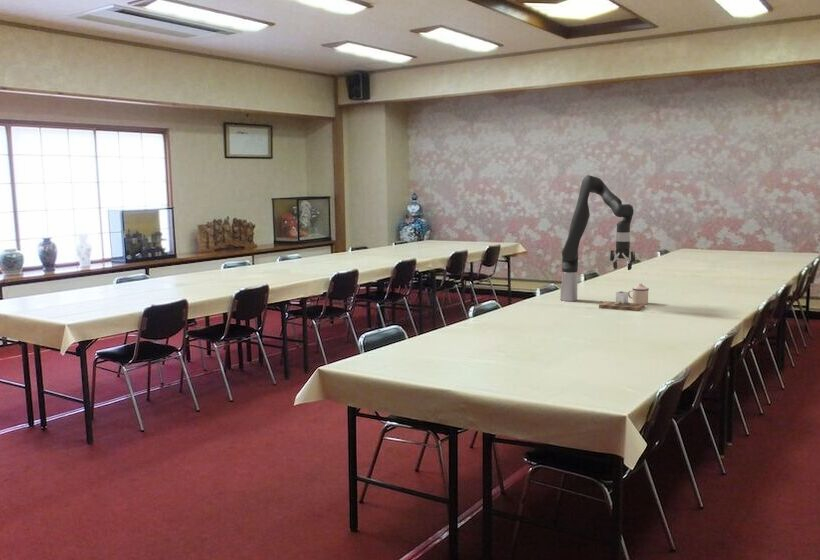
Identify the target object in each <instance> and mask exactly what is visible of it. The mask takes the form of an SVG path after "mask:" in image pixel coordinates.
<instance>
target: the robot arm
mask: <svg viewBox="0 0 820 560" xmlns="http://www.w3.org/2000/svg"><path fill="white" fill-rule="evenodd" d="M579 188H580V189H579V193H578V199H577V201H576V206H575V208H574V212H573V215H572V218H571V222H570V225H569V230H568V235H567V239H566V241H565V244H564V246H563V248H562V250H561V256H562V259H561V260H562V263H561V284H560V298H559V299H560V301H564V302H576V301H578V286H579V285H578V284H579V283H578V281H579V280H578V274H579V273H578V272H579V271H578V270H579V269H578V268H579V245H580V243H581V239H582V237H583V234H584V233H585V230H586V229H587V228H586V227H587V226H588V223H589V220H590V219H589V218H590V216H591V213H590V207H589V196H590V193H593V194H597V195H599V196H600V197H601V198H602V201H603V203H604V204H606V205H607V207H609V208H610V209H611V211H612V214H613V215H614V216H615V217H617V218H622V220H621V221H618V222H617V224H616V234H615V249H613V250H610V253H609V255H610V257H609V261H610V262H613V263H612V264H613V265H612V267H613V269H614V270H616V269H618V260H619V259H622V260H626V262H627V270H628V271H631V270H632V267H633V266H632V265H633V263H635V262H636V251H630V249H631V233H630V232H631V223H632V219H633V216H634V207H633V205H632V204H630V203H629V204H628V203H627V204H626V203H624V204H623V201H622V200H621V199H620V198H619V197H618V196H617V195H616V194H615V193H613V192H612V191H611V190H610V189H609V188H608V187H607V185H606V184H605V182H604V181H603V179H601V178H599V177H598V176H593V175H590V174H589V175H586V176H584V177H583V179H582V180H581V184H580V187H579Z"/></svg>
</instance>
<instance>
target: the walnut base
mask: <svg viewBox="0 0 820 560" xmlns="http://www.w3.org/2000/svg"><path fill="white" fill-rule="evenodd" d="M645 306H646V304H639V303H632V302H629V301H628V303H624V304H623V303H619V304H618V303H616V301H603V302H602V303H600V304H598V309H605V310H621V311H631V312H632V311H633V312H639V311H641V310H643V309H645Z"/></svg>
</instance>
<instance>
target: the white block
mask: <svg viewBox="0 0 820 560" xmlns="http://www.w3.org/2000/svg"><path fill="white" fill-rule="evenodd" d="M628 292H629V291H622V290H621V291H616V292H615V302H616V303H618V304H619V303H623V304H624V303H628V302H629V296H628Z"/></svg>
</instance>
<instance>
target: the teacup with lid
mask: <svg viewBox="0 0 820 560" xmlns="http://www.w3.org/2000/svg"><path fill="white" fill-rule="evenodd" d="M649 289H650V288H649V287H648V286H646V285H643V283H641V282H640V283H638V284H637V285H636V286H633V287H632V289H631V290H628V291H627V292H628V299H631V300H632V302H631V303H639V304H645V305H648V304H649ZM630 292H632V296H631V294H630Z"/></svg>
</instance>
